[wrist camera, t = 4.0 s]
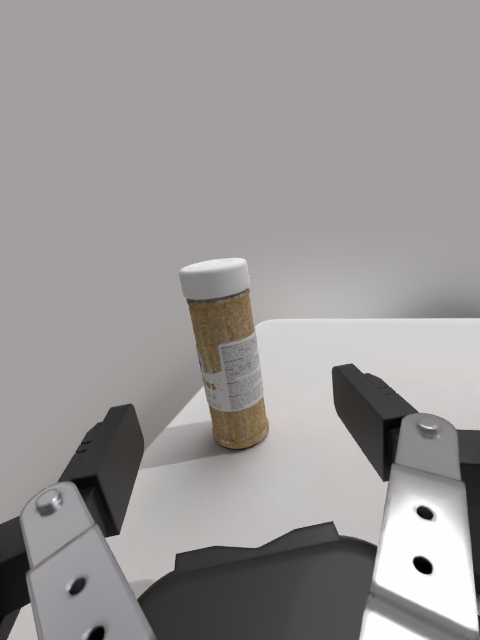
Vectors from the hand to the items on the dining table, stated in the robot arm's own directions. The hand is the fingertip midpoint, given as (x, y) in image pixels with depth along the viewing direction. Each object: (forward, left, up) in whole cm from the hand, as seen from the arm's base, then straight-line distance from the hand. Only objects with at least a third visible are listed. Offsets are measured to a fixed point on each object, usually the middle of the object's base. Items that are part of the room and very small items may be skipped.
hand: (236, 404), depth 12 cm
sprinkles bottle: (+5, +8, -9) cm, 13 cm away
